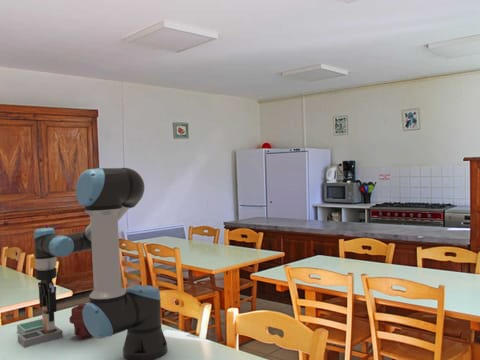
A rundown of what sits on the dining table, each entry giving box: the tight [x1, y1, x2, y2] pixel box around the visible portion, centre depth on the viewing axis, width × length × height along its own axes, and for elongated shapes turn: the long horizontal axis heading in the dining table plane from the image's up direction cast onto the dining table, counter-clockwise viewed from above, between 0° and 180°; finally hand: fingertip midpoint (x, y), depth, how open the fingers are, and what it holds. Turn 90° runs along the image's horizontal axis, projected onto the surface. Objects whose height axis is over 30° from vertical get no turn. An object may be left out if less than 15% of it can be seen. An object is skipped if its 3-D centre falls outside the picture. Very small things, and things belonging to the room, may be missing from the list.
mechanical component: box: [68, 303, 93, 341], centre depth 175 cm, size 12×10×10 cm
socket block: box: [17, 325, 64, 348], centre depth 174 cm, size 8×14×2 cm, turn 132°
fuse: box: [41, 305, 55, 334], centre depth 176 cm, size 4×4×12 cm
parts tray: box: [16, 318, 43, 335], centre depth 182 cm, size 10×10×3 cm
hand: (48, 327), depth 176 cm, fingers closed on fuse, 4 cm apart
